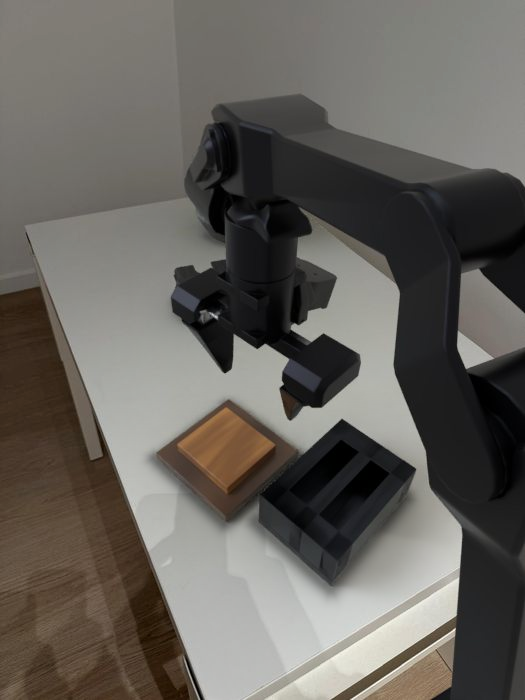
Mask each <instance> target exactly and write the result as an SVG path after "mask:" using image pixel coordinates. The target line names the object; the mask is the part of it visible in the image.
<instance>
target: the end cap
mask: <svg viewBox="0 0 525 700" xmlns="http://www.w3.org/2000/svg"><path fill="white" fill-rule="evenodd" d="M210 266H211V268H213V269H215V270H217V271H218V272H220V273H222V272H224V271H226V258H225V259H219V260H213V261H210ZM200 273H201V272H199V271H197V270H196V268H195V266H194V264H188V265H184V266H178V267H176V268H175V269H174V274H173V278H174V281H175V283H176V284H175V287H174V289H175V288H176V286H177V285H179V284H181V283H183V282H185V281H187V280H189V279H190V278H192V277H194V276H196V275H198V274H200Z"/></svg>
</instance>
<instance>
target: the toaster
mask: <svg viewBox="0 0 525 700" xmlns="http://www.w3.org/2000/svg"><path fill="white" fill-rule="evenodd" d="M417 470H418V469H417V467H415V466H413V465H412V464H411V463H409V462H407V461H406V460H404V459H402V458H401V457H400V456H398V455H397V454H395V453H394V452H392V451H391V450H389V449H388V448H386V447H385V446H383V445H382V444H381V443H379V442H378V441H376V440H374V439H373V438H371V437H370V436H369V435H367V434H366V433H364V432H363V431H361V430H359V428H357V427H355V426H354V425H352V424H351V423H349V422H348V421H347V420H345V419H344V418H340V419H339V421H337V422H336V423H335V424H334V425H333V426H332V427H331V428H330V429H329V430H328V431H327V432H326V433H324V434H323V435H322V436H321V437H320V438H319V439H318V440H317V441H315V443H314V444H313V445H311V446H310V447H309V448H308V449H307V450H306V451H305V452H304V453H303V454H302V455H301V456H300V457H298V458H297V459H295V461H293V463H291V465H290V466H289V467H288V468H286V469H285V470H284V471H283V472H281V474H280V475H278V477H276V479H275V480H273V481H272V483H270V484H269V485H268V486H267V487H266V488H265V489H264V490H263V491H262V492H261V493H259V496H258V497H259V501H258V523H259V524H260V525H261V526H262V527H263V528H264V529H266V530H267V531H268V532H269V533H271V534H272V535H273V536H274V537H275V538H276V539H277V540H278V541H279V542H280V543H281V544H283V545H284V546H285V547H286V548H287V549H289V550H290V552H292V553H293V554H294V555H295V556H297V558H298V559H300V560H301V562H303V563H304V564H305V565H306V566H308V567H309V568H310V569H311V570H312V571H313V572H314V573H315V574H317V575H318V576H319V577H320V578H321V579H322V580H324V582H326V584H328V585H329V586H330V587H333V585H334V584H335V582H336V581H337V580H338V579H339V578H340V577H341V575H342V574H343V573H344V572H345V571H346V569H348V567H350V565H351V564H352V563H353V562H354V560H355V559H356V557H358V555H359V554H360V553H361V552H362V550H363V549H364V548H365V547H366V545H367V544H368V543H369V542H370V541H371V539H372V538H373V537H374V536H375V535H376V534H377V532H378V531H379V530H380V529H381V528H382V527H383V525H384V524H385V523H386V521H388V519H389V518H390V517H391V515H392V514H394V512H395V511H396V510H397V508H398V507H399V506H400V505H401V504H402V502H403V501H404V500H405V499H406V498H407V496H408V493H409V490H410V489H411V485H412V482H413V481H414V477H415V475H416V472H417Z"/></svg>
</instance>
